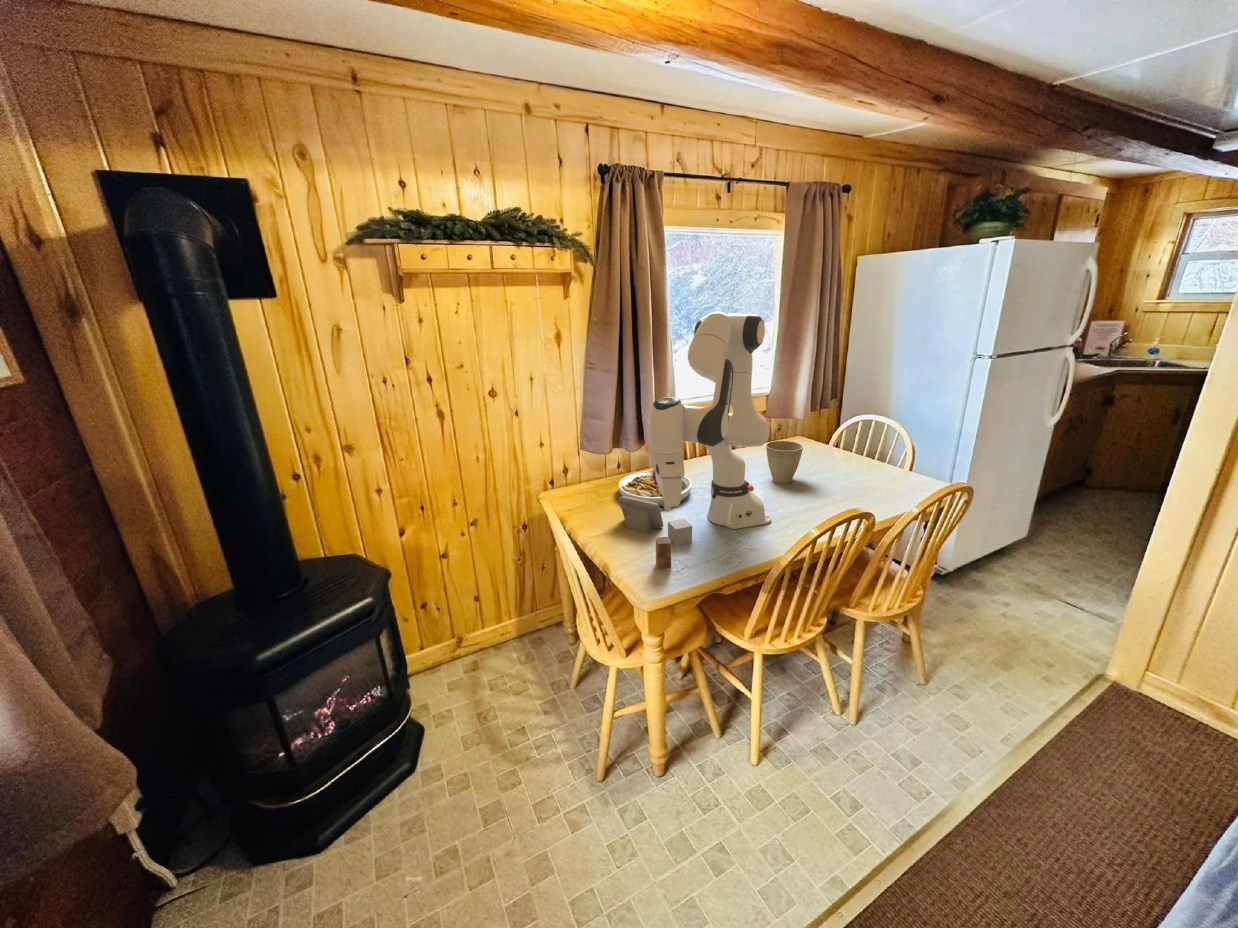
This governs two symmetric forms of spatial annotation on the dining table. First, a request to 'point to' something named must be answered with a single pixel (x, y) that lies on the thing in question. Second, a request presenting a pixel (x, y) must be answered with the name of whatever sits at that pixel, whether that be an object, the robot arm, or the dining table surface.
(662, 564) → the walnut post
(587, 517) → the dining table surface
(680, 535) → the grey cube
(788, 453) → the plant pot
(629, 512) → the digital clock
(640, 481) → the bowl
